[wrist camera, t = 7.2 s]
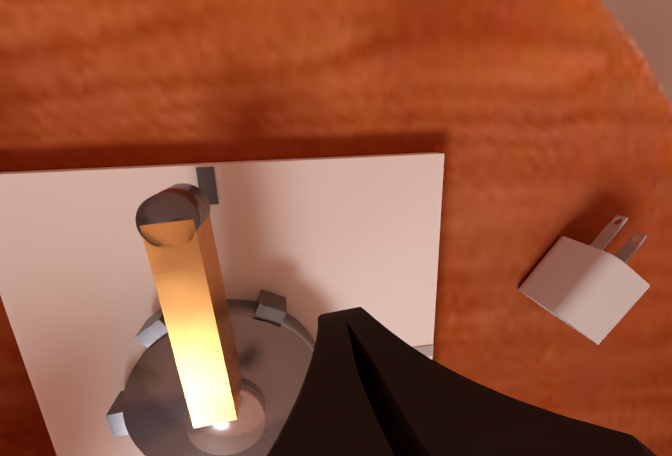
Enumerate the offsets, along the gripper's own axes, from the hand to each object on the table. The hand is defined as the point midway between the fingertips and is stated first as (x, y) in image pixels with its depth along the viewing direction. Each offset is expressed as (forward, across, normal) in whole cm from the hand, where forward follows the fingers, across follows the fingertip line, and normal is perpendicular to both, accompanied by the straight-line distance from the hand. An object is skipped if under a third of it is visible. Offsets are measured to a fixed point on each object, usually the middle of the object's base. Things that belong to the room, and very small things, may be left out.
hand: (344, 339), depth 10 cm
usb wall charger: (+10, -16, +4) cm, 20 cm away
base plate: (+9, +5, +6) cm, 12 cm away
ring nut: (+8, +5, +4) cm, 11 cm away
